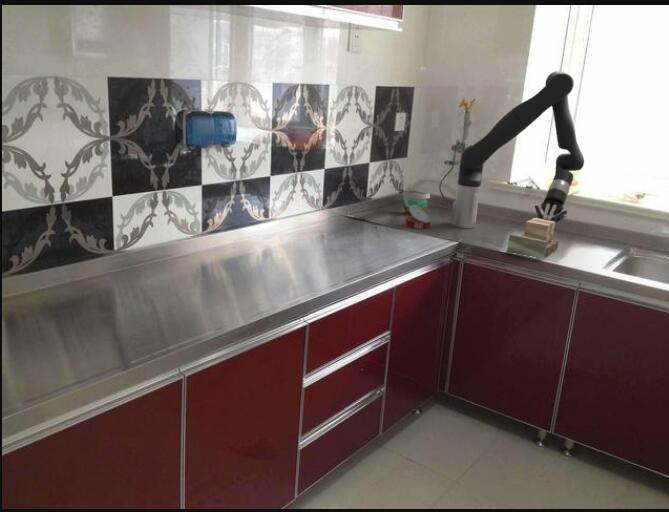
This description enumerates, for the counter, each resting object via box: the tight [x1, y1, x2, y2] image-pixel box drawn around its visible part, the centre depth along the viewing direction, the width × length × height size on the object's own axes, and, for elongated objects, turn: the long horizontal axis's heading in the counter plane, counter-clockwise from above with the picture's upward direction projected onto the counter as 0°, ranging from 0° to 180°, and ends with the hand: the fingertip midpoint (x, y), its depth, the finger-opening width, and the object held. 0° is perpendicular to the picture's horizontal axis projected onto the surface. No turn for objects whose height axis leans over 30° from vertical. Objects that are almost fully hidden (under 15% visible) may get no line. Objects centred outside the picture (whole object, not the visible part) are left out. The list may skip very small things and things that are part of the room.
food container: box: [401, 190, 431, 216], centre depth 280 cm, size 12×6×10 cm, turn 81°
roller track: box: [506, 233, 560, 260], centre depth 236 cm, size 20×13×6 cm, turn 147°
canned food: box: [405, 204, 431, 230], centre depth 260 cm, size 11×10×10 cm
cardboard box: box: [523, 217, 556, 243], centre depth 239 cm, size 10×8×7 cm
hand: (543, 229), depth 244 cm, fingers closed
